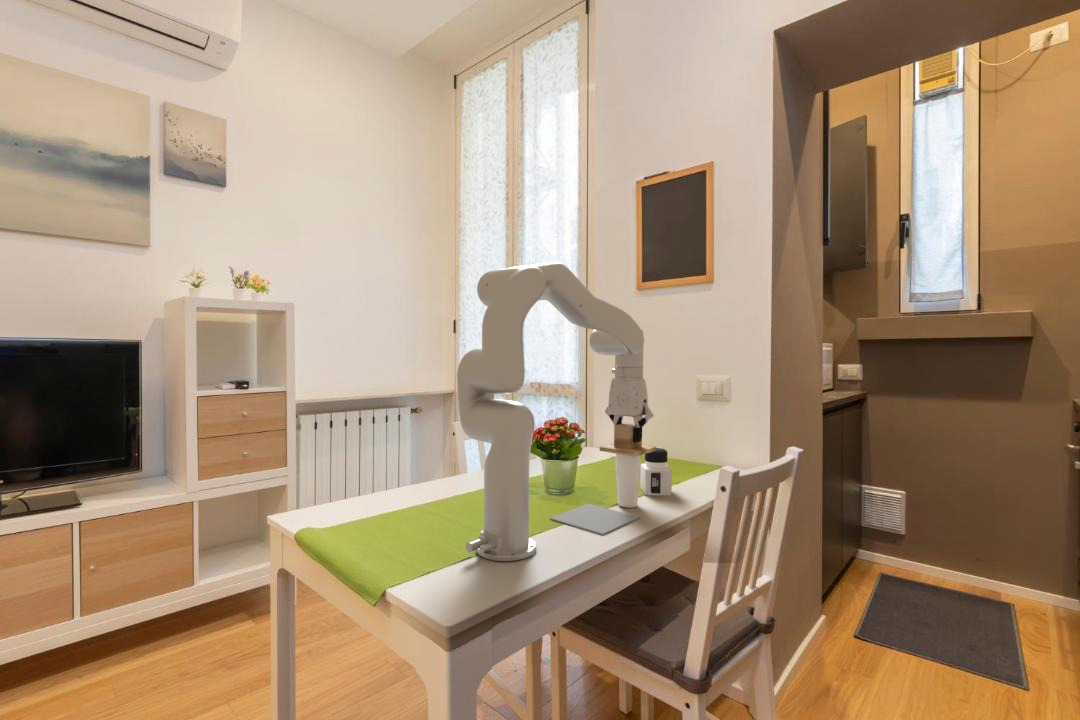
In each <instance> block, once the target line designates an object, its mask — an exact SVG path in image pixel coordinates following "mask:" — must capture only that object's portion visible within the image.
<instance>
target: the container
mask: <svg viewBox="0 0 1080 720" xmlns="http://www.w3.org/2000/svg"><path fill="white" fill-rule="evenodd" d="M672 473H673V471H672V469H671V468H670V467H669V465H668V451H667V450H666V449H664V448H662V447H656V451H653V452H650V453H646V454H644V463H641V468H640V487H639V488H640V489H641V491H642V493H643V494H644V495H645V496H657V497H658V496H663V495H664V497H665V496H667V497H669V496H672V486H673V485H672V484H673V483H672V481H673V480H672V478H673V477H672V476H673V474H672Z"/></svg>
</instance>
